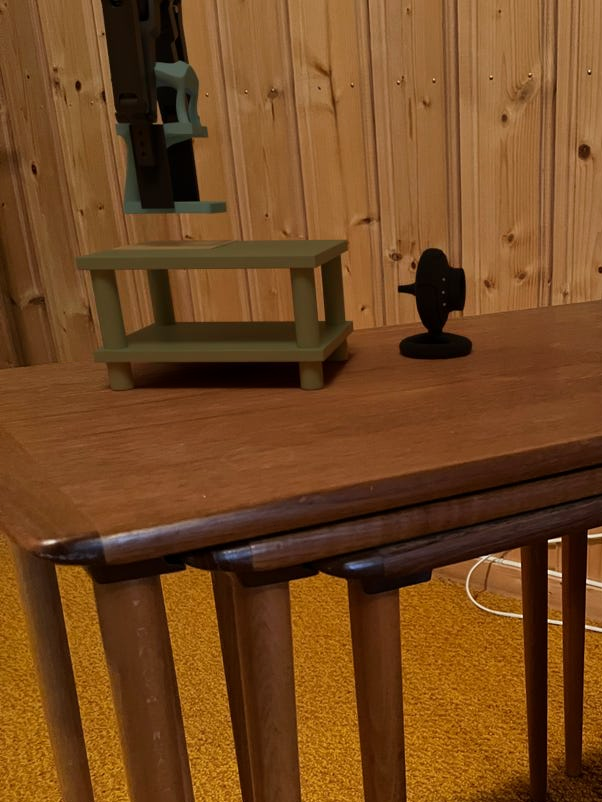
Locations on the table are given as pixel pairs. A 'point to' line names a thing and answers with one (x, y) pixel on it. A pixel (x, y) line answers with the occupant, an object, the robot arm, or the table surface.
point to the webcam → (436, 307)
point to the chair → (170, 138)
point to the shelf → (222, 339)
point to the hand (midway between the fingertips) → (172, 206)
